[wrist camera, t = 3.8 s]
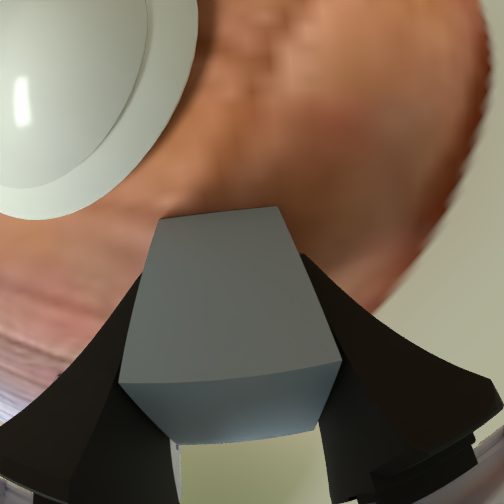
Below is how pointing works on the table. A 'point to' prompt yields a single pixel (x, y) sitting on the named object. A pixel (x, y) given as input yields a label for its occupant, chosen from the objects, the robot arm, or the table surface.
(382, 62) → the table surface
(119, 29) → the dish
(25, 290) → the table surface
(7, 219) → the table surface
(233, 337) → the block
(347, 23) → the table surface
